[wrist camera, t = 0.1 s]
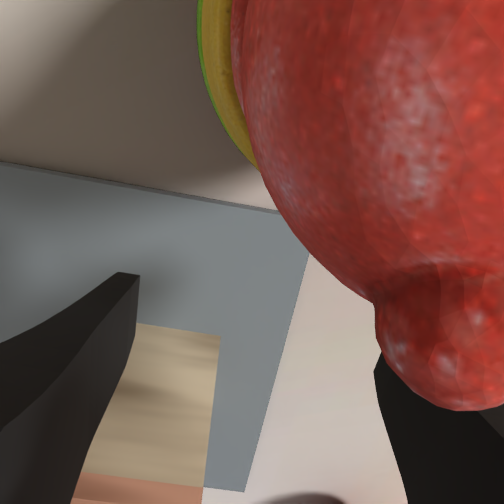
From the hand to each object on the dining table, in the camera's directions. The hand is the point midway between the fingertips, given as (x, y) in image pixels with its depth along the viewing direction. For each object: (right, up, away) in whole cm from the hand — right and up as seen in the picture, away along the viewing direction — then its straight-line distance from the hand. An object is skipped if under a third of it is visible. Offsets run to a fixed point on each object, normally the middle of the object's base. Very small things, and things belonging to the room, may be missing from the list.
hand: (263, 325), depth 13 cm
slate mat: (-9, -3, +13) cm, 16 cm away
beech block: (-5, -4, +13) cm, 15 cm away
